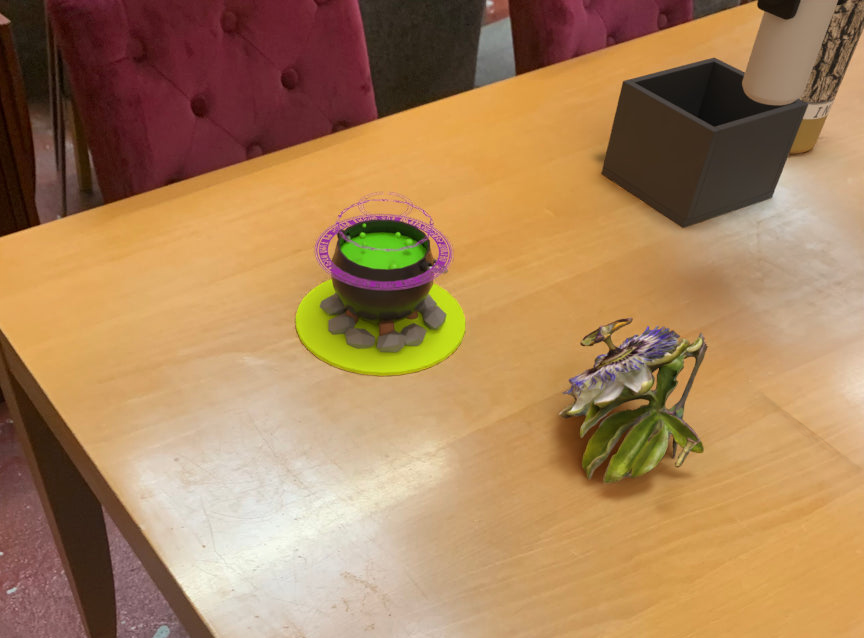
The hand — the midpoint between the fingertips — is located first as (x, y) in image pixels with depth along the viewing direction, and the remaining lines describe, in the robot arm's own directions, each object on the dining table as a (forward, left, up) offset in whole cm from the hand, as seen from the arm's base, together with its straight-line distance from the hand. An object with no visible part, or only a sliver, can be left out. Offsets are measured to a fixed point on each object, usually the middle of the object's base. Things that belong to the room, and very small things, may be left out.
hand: (801, 3), depth 67 cm
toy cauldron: (+32, -8, -23) cm, 40 cm away
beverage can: (0, 0, -7) cm, 7 cm away
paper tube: (-26, -15, -23) cm, 38 cm away
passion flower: (+23, +14, -23) cm, 35 cm away
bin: (-9, -13, -23) cm, 28 cm away
